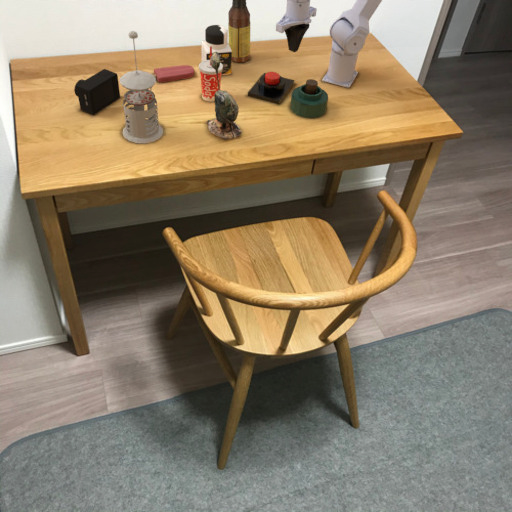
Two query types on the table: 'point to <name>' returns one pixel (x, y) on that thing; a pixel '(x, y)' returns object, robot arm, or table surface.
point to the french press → (140, 105)
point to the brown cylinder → (311, 87)
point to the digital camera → (97, 91)
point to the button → (272, 78)
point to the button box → (271, 90)
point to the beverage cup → (209, 79)
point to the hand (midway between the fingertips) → (293, 50)
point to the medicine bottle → (217, 46)
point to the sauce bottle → (239, 31)
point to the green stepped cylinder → (308, 102)
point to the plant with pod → (223, 109)
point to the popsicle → (173, 73)
